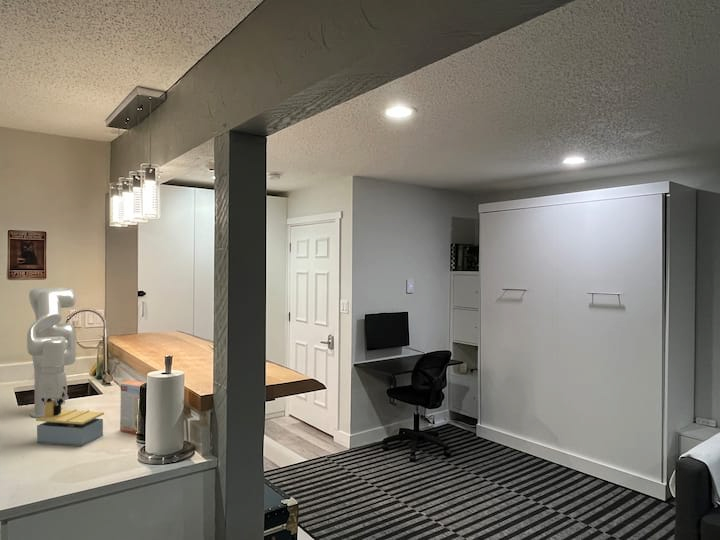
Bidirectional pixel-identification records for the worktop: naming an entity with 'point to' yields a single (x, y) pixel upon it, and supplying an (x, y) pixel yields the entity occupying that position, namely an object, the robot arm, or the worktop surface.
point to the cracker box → (129, 406)
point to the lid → (67, 415)
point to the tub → (69, 432)
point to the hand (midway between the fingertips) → (53, 413)
